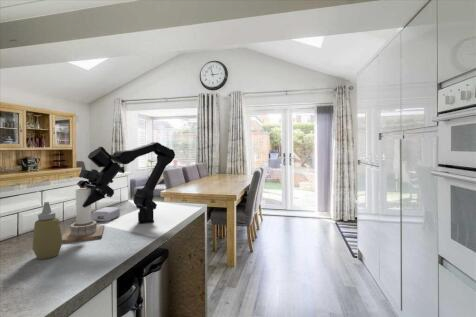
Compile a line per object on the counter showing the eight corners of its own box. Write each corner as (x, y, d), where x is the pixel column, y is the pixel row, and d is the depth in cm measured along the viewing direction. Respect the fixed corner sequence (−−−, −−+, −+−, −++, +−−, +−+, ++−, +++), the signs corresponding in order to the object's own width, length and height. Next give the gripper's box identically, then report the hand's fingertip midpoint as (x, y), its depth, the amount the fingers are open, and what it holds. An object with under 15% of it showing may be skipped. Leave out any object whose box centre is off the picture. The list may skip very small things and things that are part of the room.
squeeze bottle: (43, 251, 88) (41, 199, 87) (67, 250, 89) (66, 199, 88) (26, 261, 80) (24, 205, 79) (53, 260, 81) (51, 204, 80)
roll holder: (104, 227, 113) (104, 217, 113) (101, 238, 101) (101, 226, 100) (67, 231, 108) (66, 220, 107) (59, 243, 95) (59, 231, 95)
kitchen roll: (93, 219, 102) (92, 187, 101) (87, 223, 97) (86, 189, 96) (80, 220, 101) (79, 187, 101) (74, 224, 96) (72, 190, 96)
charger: (126, 213, 138) (109, 221, 123) (110, 212, 139) (91, 220, 124) (126, 204, 138) (109, 211, 123) (110, 204, 139) (91, 211, 124)
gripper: (81, 161, 106) (51, 191, 98) (105, 162, 96) (75, 196, 87) (100, 177, 113) (74, 207, 105) (125, 181, 103) (98, 213, 95)
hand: (79, 205), depth 98 cm, fingers closed on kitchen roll, 5 cm apart
